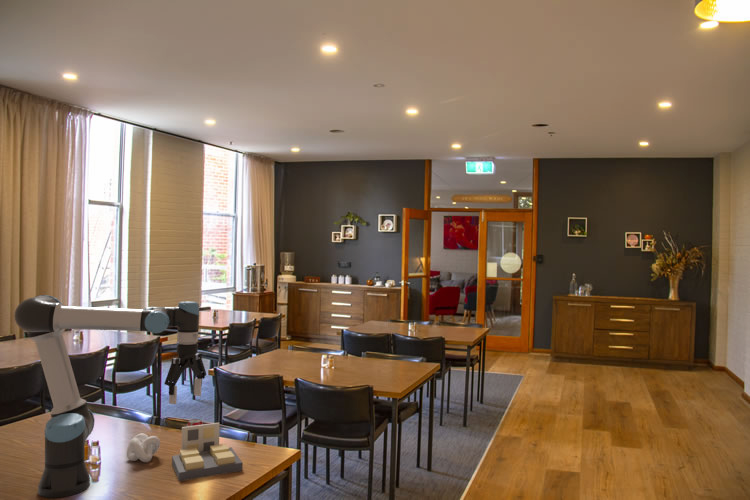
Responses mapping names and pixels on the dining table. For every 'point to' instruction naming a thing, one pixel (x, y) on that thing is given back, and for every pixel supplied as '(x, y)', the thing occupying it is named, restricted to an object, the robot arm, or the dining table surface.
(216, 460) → the button
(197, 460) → the button
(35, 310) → the robot arm
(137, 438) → the white knot
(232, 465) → the button board
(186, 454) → the button
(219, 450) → the button
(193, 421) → the beverage can
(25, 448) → the dining table surface
